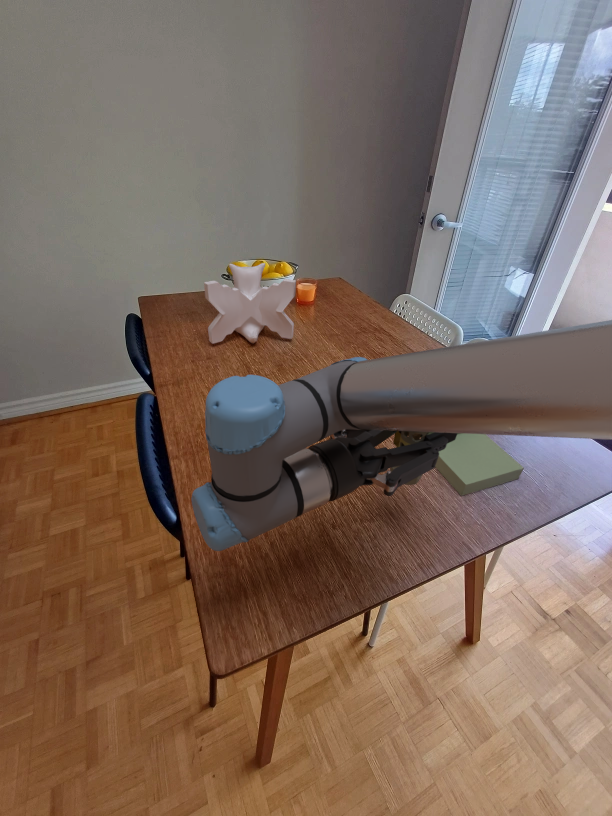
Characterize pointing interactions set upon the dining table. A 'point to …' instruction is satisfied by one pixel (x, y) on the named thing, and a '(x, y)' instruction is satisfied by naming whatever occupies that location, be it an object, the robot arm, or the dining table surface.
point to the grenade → (404, 440)
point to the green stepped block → (476, 463)
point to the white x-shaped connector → (249, 305)
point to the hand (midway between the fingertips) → (443, 423)
